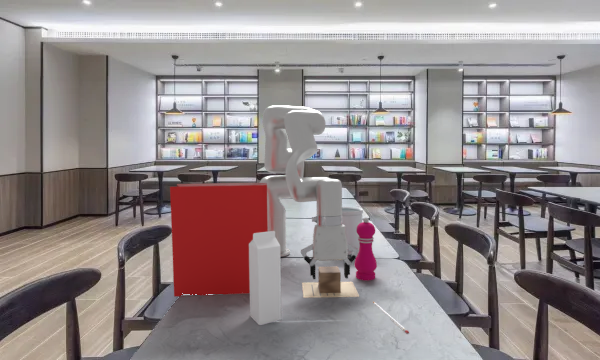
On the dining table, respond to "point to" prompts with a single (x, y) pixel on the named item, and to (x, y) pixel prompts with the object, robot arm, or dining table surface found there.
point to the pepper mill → (365, 252)
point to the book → (215, 235)
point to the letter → (313, 292)
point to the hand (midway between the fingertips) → (330, 277)
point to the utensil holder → (352, 225)
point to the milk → (265, 278)
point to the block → (329, 279)
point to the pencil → (392, 319)
